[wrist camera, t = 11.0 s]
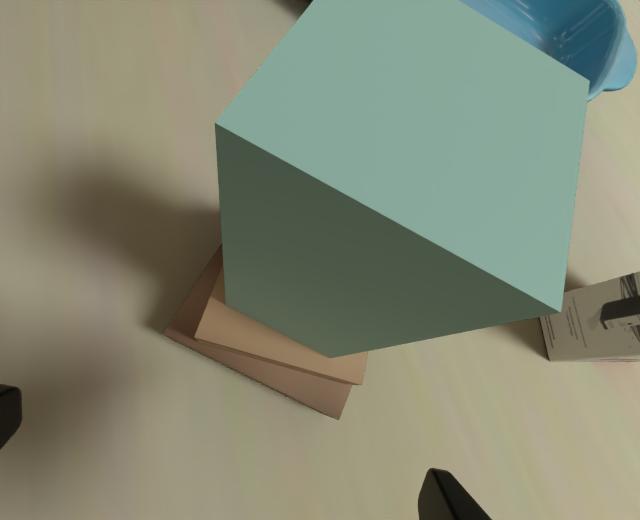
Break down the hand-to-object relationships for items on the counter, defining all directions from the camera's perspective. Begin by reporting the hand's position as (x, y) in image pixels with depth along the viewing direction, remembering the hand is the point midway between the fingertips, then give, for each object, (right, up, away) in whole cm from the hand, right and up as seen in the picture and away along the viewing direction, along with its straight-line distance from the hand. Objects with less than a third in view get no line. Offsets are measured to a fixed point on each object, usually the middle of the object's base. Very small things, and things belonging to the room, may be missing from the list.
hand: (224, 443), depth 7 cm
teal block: (+1, +3, +9) cm, 10 cm away
